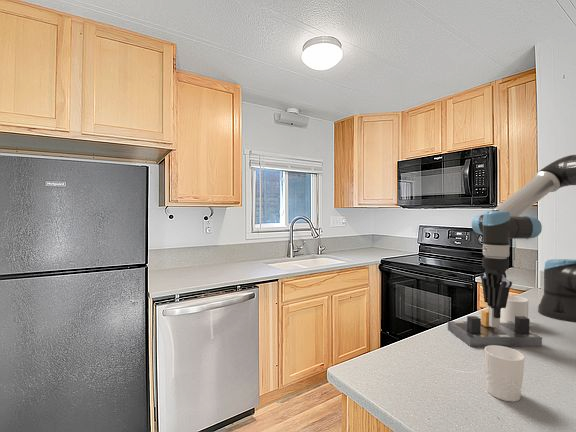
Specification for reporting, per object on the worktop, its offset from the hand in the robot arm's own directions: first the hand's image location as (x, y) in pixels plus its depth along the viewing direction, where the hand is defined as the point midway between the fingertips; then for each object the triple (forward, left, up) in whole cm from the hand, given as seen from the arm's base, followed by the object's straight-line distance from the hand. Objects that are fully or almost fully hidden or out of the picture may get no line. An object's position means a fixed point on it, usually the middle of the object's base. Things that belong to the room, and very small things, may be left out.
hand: (494, 326), depth 106 cm
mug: (-17, -13, -5) cm, 22 cm away
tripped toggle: (0, -3, -1) cm, 3 cm away
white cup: (+18, +31, -5) cm, 36 cm away
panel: (0, -1, -4) cm, 4 cm away
